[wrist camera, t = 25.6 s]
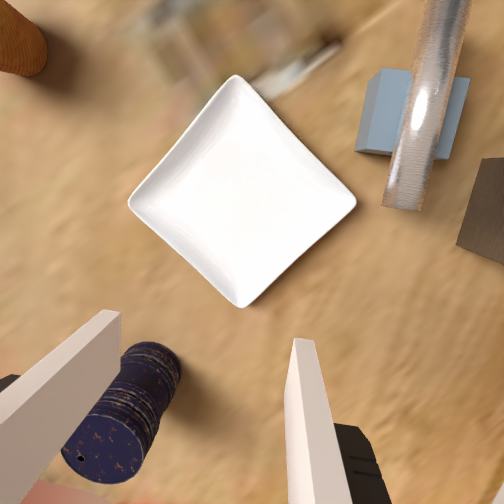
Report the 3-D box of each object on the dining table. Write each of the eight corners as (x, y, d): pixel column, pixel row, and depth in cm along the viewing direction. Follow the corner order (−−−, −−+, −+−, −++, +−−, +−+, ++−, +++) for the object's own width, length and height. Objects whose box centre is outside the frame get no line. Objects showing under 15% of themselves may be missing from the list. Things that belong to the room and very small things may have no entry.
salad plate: (132, 201, 43) (121, 204, 40) (238, 77, 38) (234, 68, 35) (243, 303, 46) (241, 314, 43) (354, 199, 41) (361, 201, 38)
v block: (368, 81, 37) (382, 67, 32) (445, 90, 37) (470, 78, 32) (354, 151, 39) (366, 148, 34) (426, 160, 39) (448, 158, 34)
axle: (418, 7, 32) (439, -18, 28) (458, 11, 32) (484, -13, 28) (376, 204, 36) (388, 207, 32) (410, 209, 36) (427, 212, 32)
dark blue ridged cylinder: (162, 331, 48) (113, 401, 33) (193, 382, 49) (160, 469, 35) (108, 355, 49) (40, 431, 35) (141, 403, 51) (89, 495, 37)
